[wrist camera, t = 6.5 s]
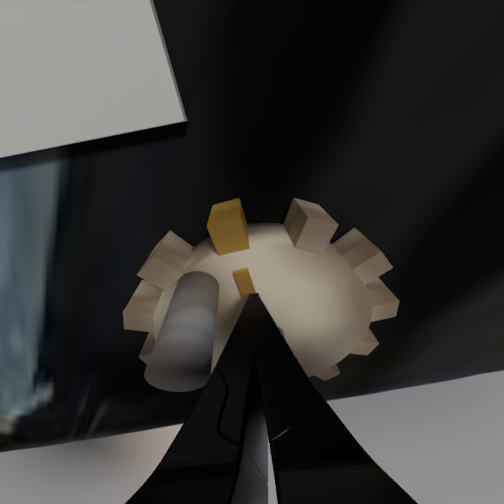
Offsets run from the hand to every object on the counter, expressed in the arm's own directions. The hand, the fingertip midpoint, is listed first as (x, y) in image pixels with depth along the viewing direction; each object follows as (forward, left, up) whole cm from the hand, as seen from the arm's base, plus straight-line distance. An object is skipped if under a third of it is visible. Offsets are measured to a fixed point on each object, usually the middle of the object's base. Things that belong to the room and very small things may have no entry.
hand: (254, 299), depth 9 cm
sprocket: (0, +5, -4) cm, 6 cm away
